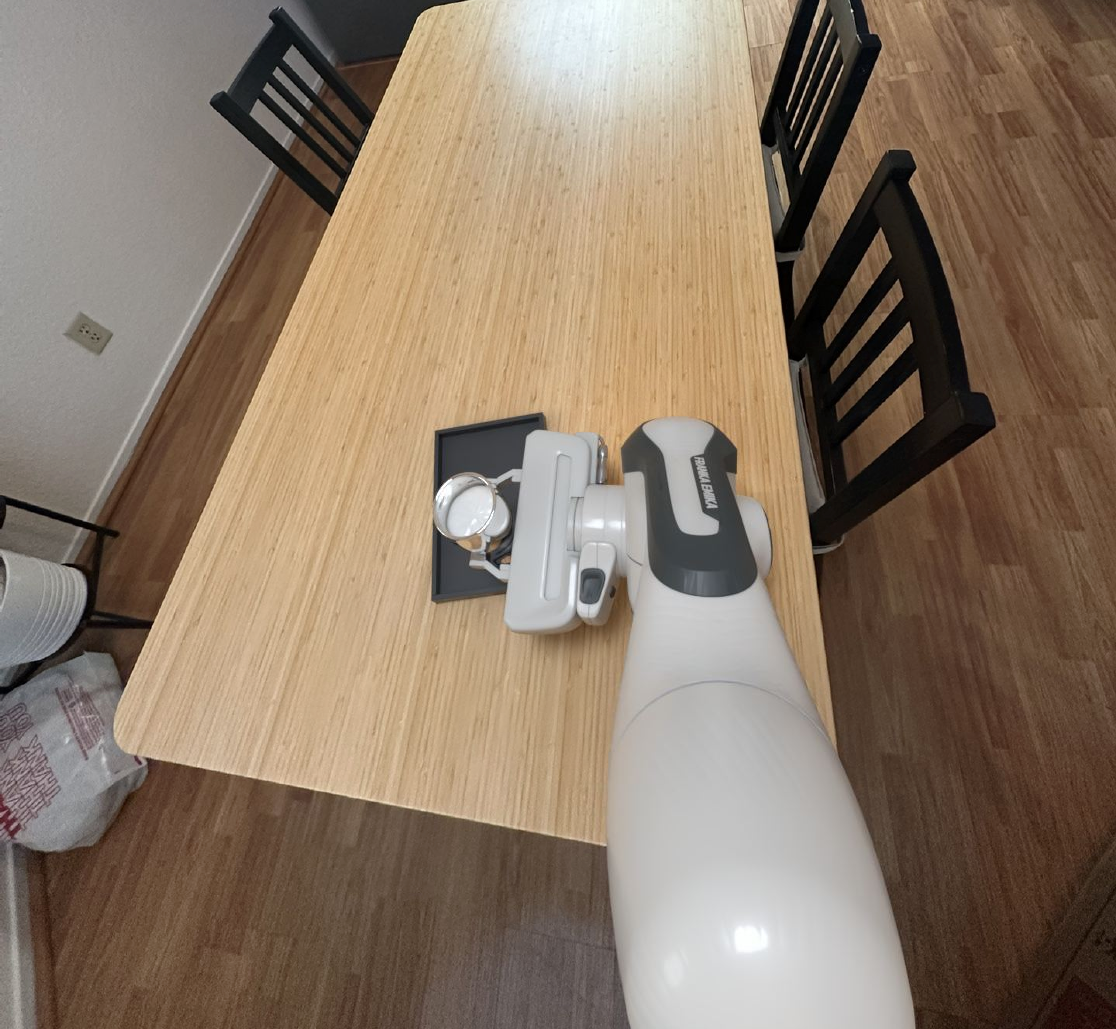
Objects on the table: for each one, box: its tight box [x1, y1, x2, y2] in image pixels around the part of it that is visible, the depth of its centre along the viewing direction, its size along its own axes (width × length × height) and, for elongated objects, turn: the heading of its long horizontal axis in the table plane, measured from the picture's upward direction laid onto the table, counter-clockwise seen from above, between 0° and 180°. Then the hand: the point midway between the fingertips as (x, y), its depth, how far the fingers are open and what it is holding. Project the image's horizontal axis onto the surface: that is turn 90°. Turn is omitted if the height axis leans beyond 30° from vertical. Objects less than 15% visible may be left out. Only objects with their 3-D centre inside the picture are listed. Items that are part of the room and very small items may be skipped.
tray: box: [430, 411, 548, 604], centre depth 80 cm, size 21×15×2 cm
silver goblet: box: [432, 472, 516, 567], centre depth 68 cm, size 7×7×15 cm
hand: (477, 522), depth 68 cm, fingers closed on silver goblet, 6 cm apart
